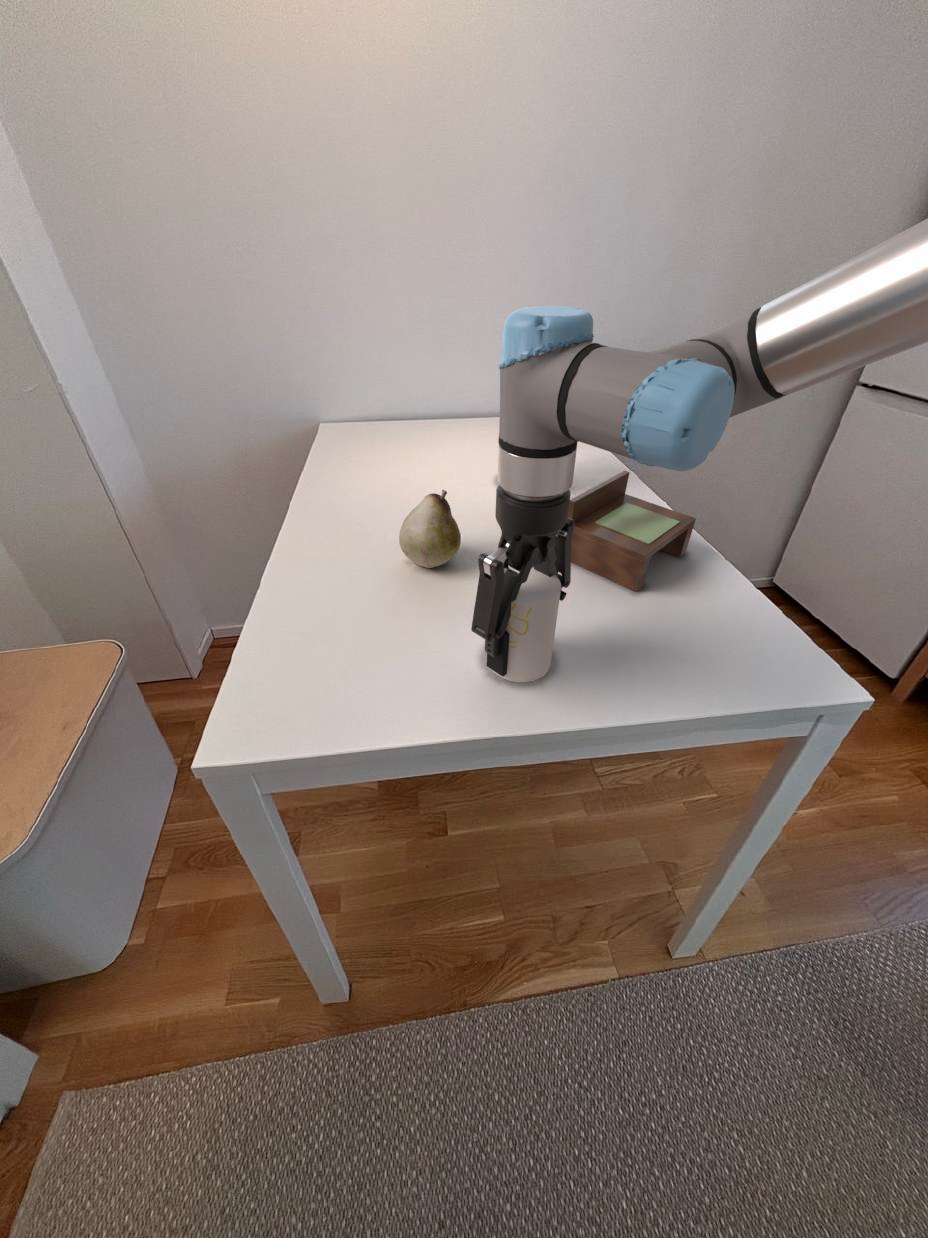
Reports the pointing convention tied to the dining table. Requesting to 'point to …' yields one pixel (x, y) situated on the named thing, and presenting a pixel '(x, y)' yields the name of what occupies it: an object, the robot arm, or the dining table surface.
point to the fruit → (430, 532)
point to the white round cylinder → (532, 627)
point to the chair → (623, 532)
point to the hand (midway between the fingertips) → (519, 652)
